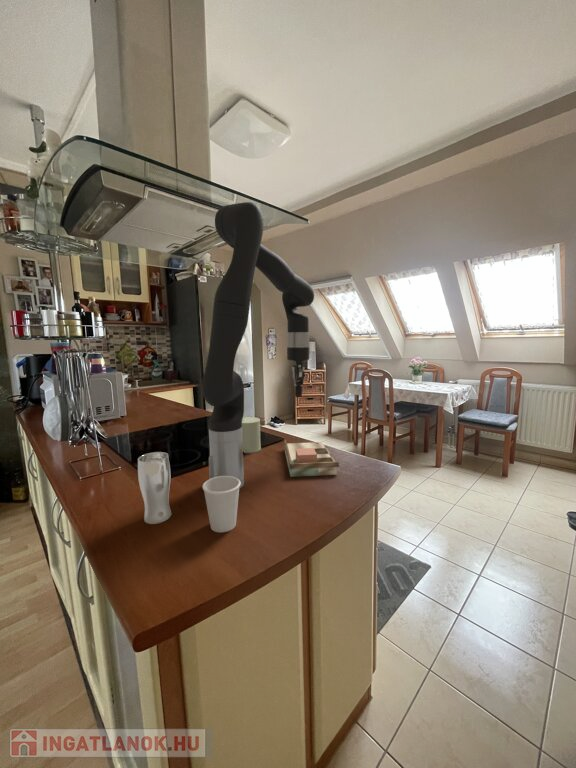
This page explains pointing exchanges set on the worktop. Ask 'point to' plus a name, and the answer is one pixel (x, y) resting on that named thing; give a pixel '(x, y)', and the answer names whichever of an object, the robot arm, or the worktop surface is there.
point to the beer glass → (155, 486)
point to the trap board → (321, 467)
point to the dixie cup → (222, 502)
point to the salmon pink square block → (306, 455)
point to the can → (251, 434)
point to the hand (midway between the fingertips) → (298, 396)
